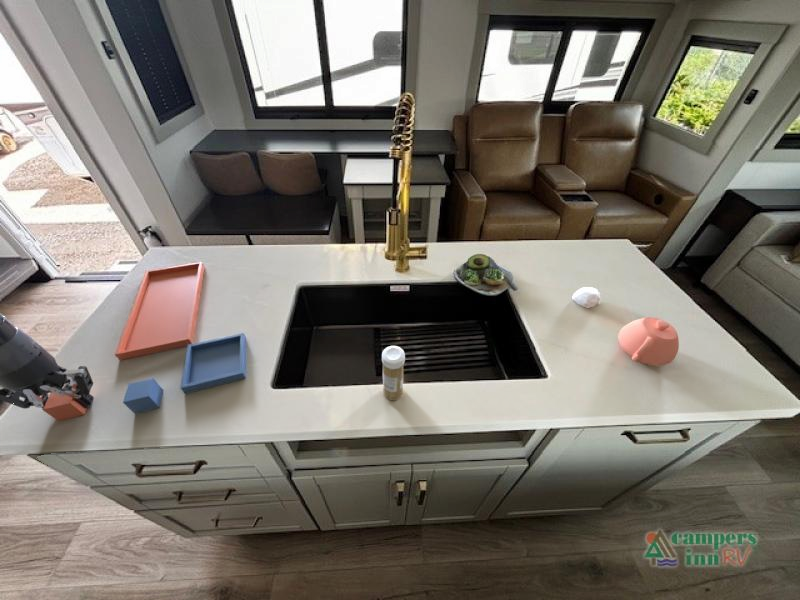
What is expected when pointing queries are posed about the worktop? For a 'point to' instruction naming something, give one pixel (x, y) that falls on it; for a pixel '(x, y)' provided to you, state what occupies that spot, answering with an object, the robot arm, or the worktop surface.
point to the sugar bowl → (649, 341)
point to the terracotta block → (63, 407)
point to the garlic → (587, 297)
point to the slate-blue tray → (214, 363)
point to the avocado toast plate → (484, 276)
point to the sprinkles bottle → (393, 372)
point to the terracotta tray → (163, 311)
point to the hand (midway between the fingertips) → (74, 407)
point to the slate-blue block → (143, 395)
